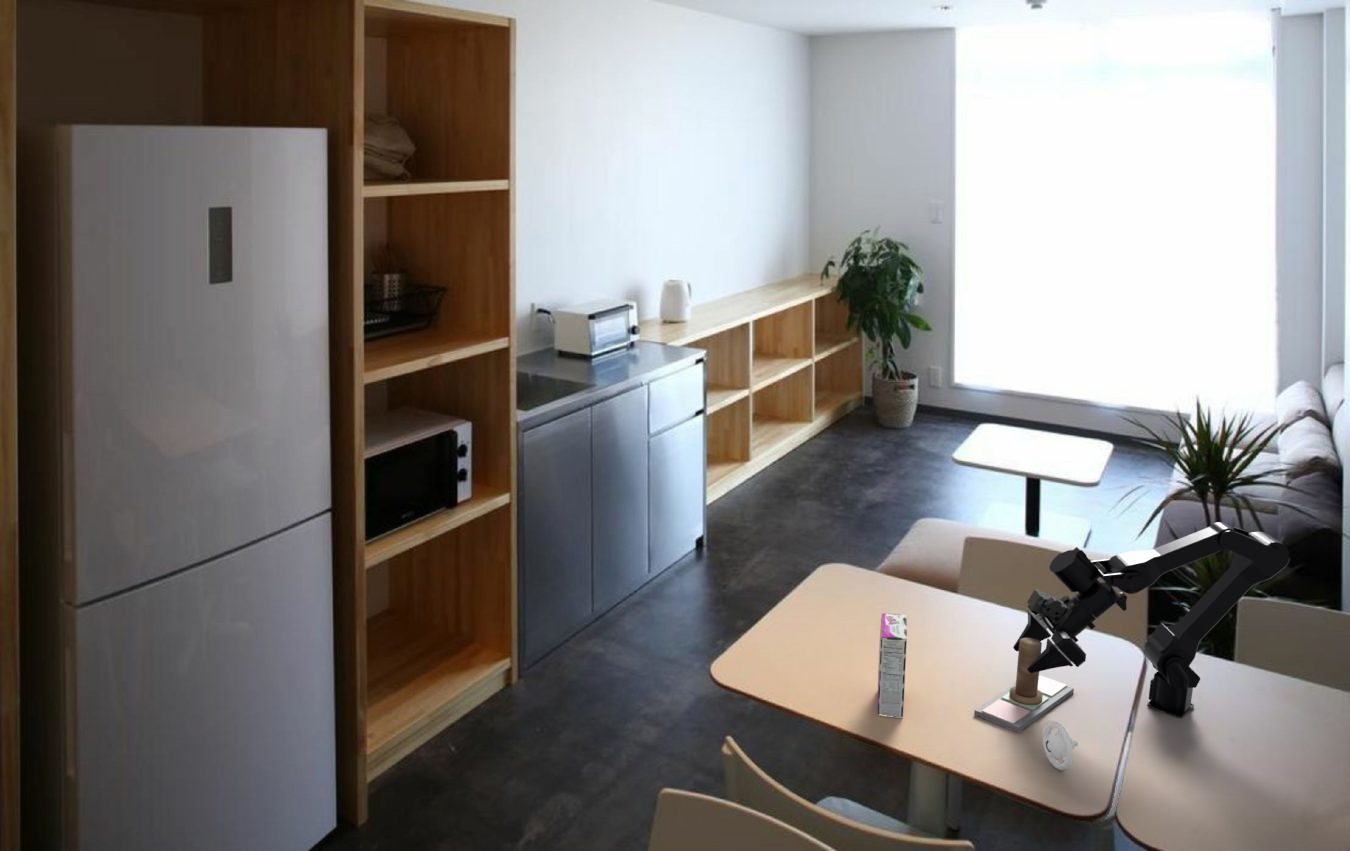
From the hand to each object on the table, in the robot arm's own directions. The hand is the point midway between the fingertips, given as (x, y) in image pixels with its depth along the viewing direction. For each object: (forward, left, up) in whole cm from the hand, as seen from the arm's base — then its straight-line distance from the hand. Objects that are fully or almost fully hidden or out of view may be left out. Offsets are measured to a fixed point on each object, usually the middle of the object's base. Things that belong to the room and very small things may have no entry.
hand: (1021, 660), depth 200 cm
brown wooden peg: (-1, -1, -8) cm, 8 cm away
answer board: (-1, -1, -9) cm, 9 cm away
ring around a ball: (-16, +15, -9) cm, 24 cm away
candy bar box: (+17, +18, -9) cm, 27 cm away
